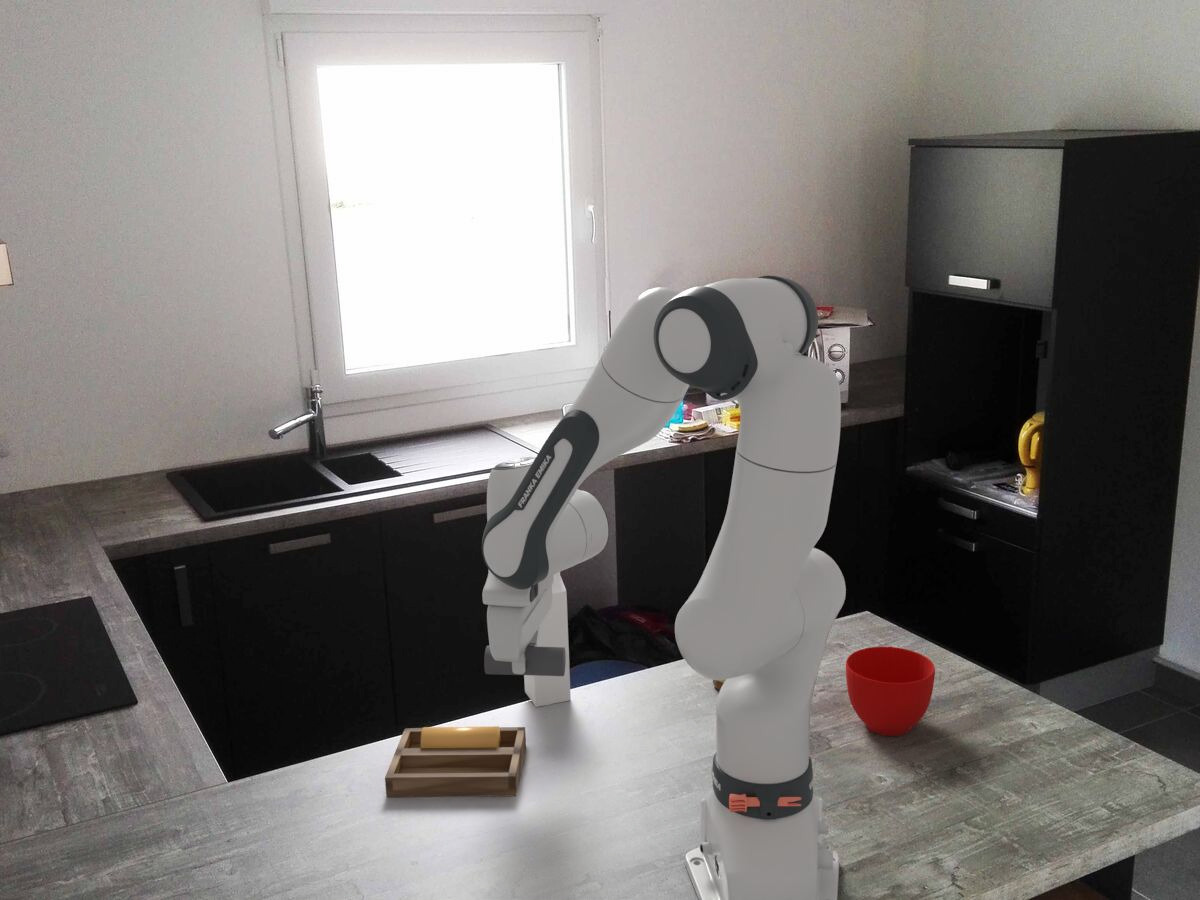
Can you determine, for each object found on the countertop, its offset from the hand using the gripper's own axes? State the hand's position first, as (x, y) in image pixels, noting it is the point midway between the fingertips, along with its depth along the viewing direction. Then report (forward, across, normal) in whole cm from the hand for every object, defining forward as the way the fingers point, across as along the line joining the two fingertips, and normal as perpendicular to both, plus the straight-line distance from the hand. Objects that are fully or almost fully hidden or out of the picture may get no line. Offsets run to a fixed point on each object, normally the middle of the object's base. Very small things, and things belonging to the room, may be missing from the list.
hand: (525, 663), depth 164 cm
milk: (+16, -21, -2) cm, 27 cm away
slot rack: (+16, +4, -9) cm, 19 cm away
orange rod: (+14, 0, -10) cm, 18 cm away
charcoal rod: (+2, 0, 0) cm, 2 cm away
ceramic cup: (+15, -21, +51) cm, 58 cm away
